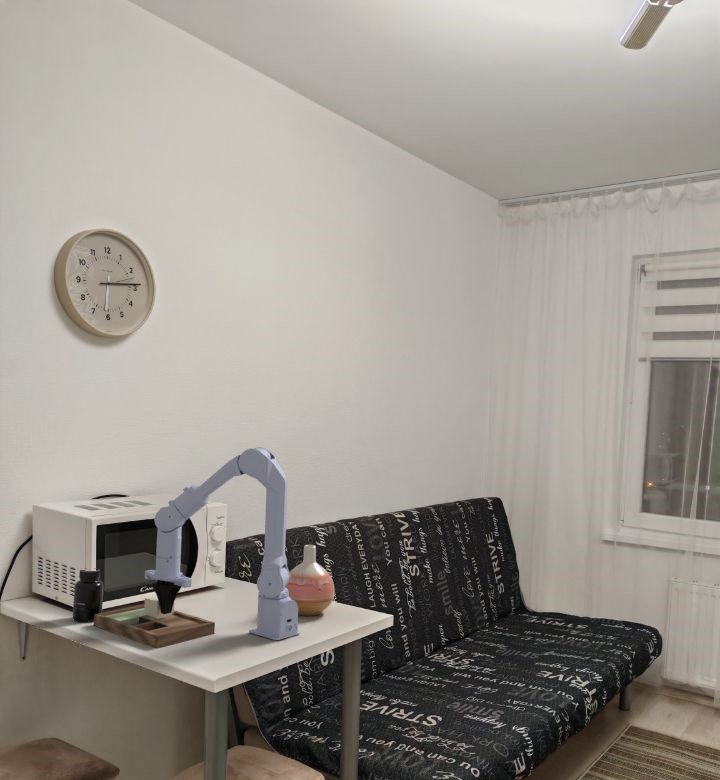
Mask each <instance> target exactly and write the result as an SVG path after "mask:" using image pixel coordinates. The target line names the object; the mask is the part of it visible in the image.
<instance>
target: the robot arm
mask: <svg viewBox="0 0 720 780" xmlns="http://www.w3.org/2000/svg"><path fill="white" fill-rule="evenodd" d="M243 475H247V476H249V477H250V478H253V479H255V480H257V481H258V482H259V483H260V484H261V485H262V486H263V487H265V490H266V493H265V494H266V495H265V500H266V501H265V522H264V523H265V525H264V549H263V550H264V551H263V552H264V553H263V554H264V555H263V558H262V563H261V570H260V573H259V576H258V578H257V581H256V586H257V590H258V592H257V593H258V595H257V616H256V617H257V618H256V619H257V621H256V628H253V629H249V630H248V633H249V634H253V635H257V636H259V637H260V636H261V637H264V638H266V639H270V640H273V641H279V640H283V639H285V638H290V637H293V636H297V635H300V634H301V632H300V631H298V630H299V629H298V628H299V627H298V626H299V615H298V605H297V603H296V602H295V601H294V600H292V599H291V598H290V597H289V592H288V590H287V588H286V586H287V585H288V583H289V581H290V572H291V571H290V570H289V568H288V559H287V555H286V538H287V537H286V536H287V535H286V533H287V530H286V529H287V505H288V504H287V503H288V478H287V476H286V475H285V472H284V470H283V469H282V467H281V466H280V464H279V462H278V459H277V457H276V455H275V454H273V453H272V452H271V451H270V450H268V448H265V447H261V446H257V447H254V448H248V449H244V450H243V452H241V454H238V455H236V456H234V457H233V458H231V459H230V460H229V461H228V462H226V463H225V464H224V465H222V466H221V467H220V468H219V469H218V470H217V471H215V472H214V473H213V474H212V475H211V476H210V477H209V478H207V480H205V481H204V482H203V483H202V484H201V485H197V484H191V486H189V485H187V486H185V487H184V488H183V489H182V490H183V492H182V493H181V494H180V495H178V496H177V497H176V498H174V499H172V498H171V499H170V500H169V501H168V506H163V507H161V508H159V509H158V511H157V512H156V513H155V515H154V524H155V526H156V528H157V536H156V555H155V569H148V570H144V579H145V580H152V581H153V580H154V581H156V583H153V584H152V589H153V591H154V593H155V594H156V595H155V596H157V598H158V601H159V605H160V610H161V613H162V614H168V613H171V611H172V608H173V604H174V605H175V600H176V598H177V596H178V593H179V592H180V591H181V589H182V588H184V589H185V588H191V587H192V578H190V577H188V576H185V575H184V574H183V572H181V559H182V556H181V555H182V527H183V525H184V524H185V523H186V521H187V520H189V519H190V518H191V517H192V516H193V515H195V514H197V512H199V511H200V510H201V509H203V508H204V507H205V506H207V504H208V503H209V496H210V495H212V494H213V493H214V492H216V491H217V490H218V489H220V488H221V487H222V486H223V485H225V484H226V483H228V482H229V481H230V480H231V479H233V478H234V477H239V476H243Z"/></svg>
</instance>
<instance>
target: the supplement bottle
mask: <svg viewBox="0 0 720 780" xmlns="http://www.w3.org/2000/svg"><path fill="white" fill-rule="evenodd" d="M97 569H98V570H96V571H85V570H82V569H80V570H79V573H78V574H79V576H78V578H79V580H77V581H76V582H75V584H74V587H73V588H74V589H73V602H72V605H73V606H72V619H74V620H73V621H75V622H77V621H78V622H77V623H94V614H99V613H103V602H104V582H103V581H102V580H101V579H100V578H101V569H99V568H97Z"/></svg>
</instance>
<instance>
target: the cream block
mask: <svg viewBox="0 0 720 780" xmlns="http://www.w3.org/2000/svg"><path fill="white" fill-rule="evenodd" d="M144 604H145V607H144V614H145V615H148V616H151V617H154V618H160V617H165V616H169V615H174V610H175V603H174V604H173V608H172V611H171V613H168V614H162V613H161V610H160V605H159V601H158V598H157V595H151V596H147V597H144Z"/></svg>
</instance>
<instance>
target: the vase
mask: <svg viewBox="0 0 720 780" xmlns="http://www.w3.org/2000/svg"><path fill="white" fill-rule="evenodd" d="M316 546H317V545H314V544H305V545H304V546H303V560H302V562H301V563H299V564H297V565H296V566H295V567H294V568H293V569H291V570H290V571H289V572H290V581H289V583H288V585H287V586H286V588H287V590H288V592H289V597H290V598H291V599H292V600H294V601H295V602H296V603H297V605H298V616H302V615H304V617H313V616H318V615H321V614H322V613H323V612H324V611H325V610H326V609H328V608H329V607H330V605H331V604H332V602H334V598H335V584H334V581H333V578H332V576H331V574H330V573H329V572H328V570H326V569H325V568H324V566H322V565H320V564H319V563H318V562H317V561H316V558H317V557H316V556H317V555H316V554H317V547H316Z"/></svg>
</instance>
